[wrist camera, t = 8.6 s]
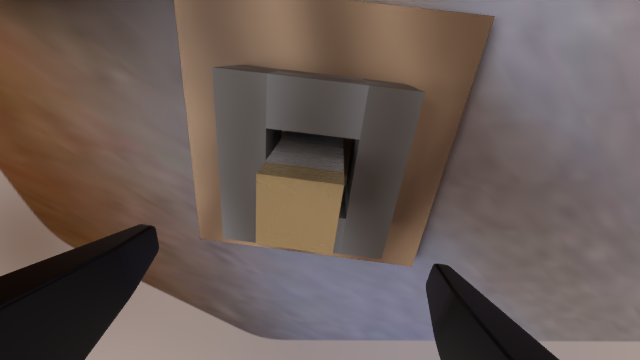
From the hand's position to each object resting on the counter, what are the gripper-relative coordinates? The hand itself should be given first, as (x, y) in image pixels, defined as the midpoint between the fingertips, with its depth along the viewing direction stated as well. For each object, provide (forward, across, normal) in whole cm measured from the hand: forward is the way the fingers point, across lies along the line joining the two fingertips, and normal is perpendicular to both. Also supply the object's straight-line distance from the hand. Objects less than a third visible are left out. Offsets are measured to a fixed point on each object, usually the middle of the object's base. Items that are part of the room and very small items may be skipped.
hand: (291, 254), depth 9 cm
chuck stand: (+12, 0, 0) cm, 12 cm away
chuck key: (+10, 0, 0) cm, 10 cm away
